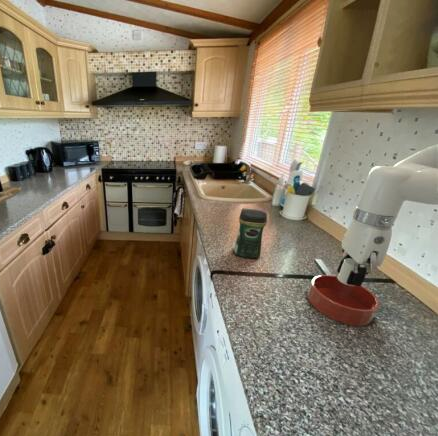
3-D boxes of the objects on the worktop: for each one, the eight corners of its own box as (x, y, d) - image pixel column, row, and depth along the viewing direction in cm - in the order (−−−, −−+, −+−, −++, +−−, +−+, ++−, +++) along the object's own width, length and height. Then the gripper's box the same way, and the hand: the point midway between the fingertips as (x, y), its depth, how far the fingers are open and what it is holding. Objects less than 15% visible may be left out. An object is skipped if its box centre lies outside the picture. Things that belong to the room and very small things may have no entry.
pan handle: (319, 262, 85) (320, 259, 84) (333, 279, 76) (334, 276, 75) (313, 261, 85) (314, 258, 85) (325, 278, 76) (327, 275, 76)
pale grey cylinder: (352, 277, 68) (359, 259, 66) (360, 287, 64) (369, 268, 62) (334, 275, 69) (341, 257, 67) (342, 284, 65) (349, 265, 63)
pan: (354, 292, 75) (359, 278, 73) (386, 330, 62) (393, 315, 60) (300, 284, 79) (304, 271, 77) (319, 319, 65) (324, 305, 63)
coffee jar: (258, 250, 99) (267, 207, 91) (260, 260, 92) (270, 215, 84) (233, 246, 101) (240, 205, 94) (233, 256, 94) (241, 212, 87)
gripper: (418, 234, 51) (384, 302, 58) (370, 207, 66) (347, 263, 73) (376, 230, 53) (348, 297, 60) (339, 205, 68) (320, 260, 75)
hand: (348, 278), depth 66 cm, fingers closed on pale grey cylinder, 4 cm apart
